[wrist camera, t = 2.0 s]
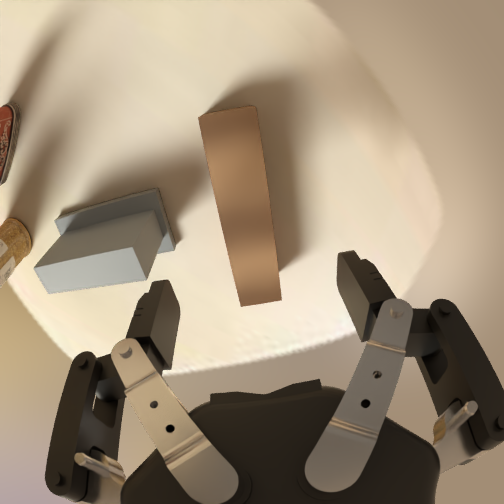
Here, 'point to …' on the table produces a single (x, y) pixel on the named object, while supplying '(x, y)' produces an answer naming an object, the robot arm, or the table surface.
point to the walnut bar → (243, 201)
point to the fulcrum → (107, 244)
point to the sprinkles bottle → (12, 247)
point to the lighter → (8, 137)
